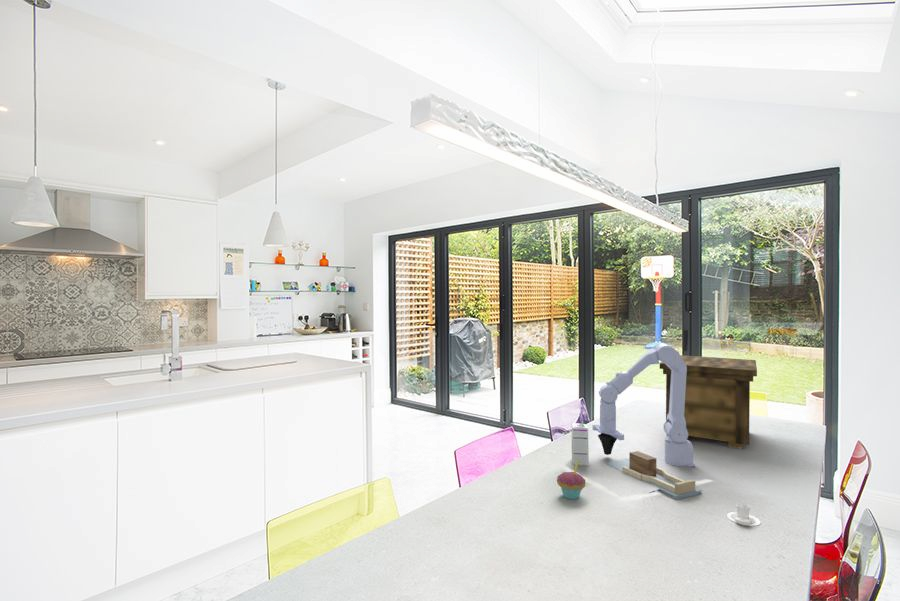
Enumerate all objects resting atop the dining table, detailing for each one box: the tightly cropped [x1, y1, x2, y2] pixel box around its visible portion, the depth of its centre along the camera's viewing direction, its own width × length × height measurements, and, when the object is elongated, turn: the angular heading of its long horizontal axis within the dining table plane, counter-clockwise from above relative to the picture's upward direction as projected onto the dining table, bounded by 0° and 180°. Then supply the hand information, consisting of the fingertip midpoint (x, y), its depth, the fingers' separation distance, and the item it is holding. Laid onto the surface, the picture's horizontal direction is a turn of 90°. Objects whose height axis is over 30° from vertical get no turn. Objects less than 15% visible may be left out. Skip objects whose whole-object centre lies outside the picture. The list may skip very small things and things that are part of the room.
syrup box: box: [571, 422, 590, 467], centre depth 170 cm, size 6×6×14 cm
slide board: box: [604, 458, 702, 501], centre depth 158 cm, size 11×31×4 cm, turn 24°
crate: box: [659, 354, 758, 449], centre depth 206 cm, size 35×35×33 cm
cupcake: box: [556, 459, 586, 500], centre depth 144 cm, size 9×8×12 cm
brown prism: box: [628, 450, 657, 477], centre depth 160 cm, size 4×8×6 cm, turn 24°
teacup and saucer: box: [726, 502, 761, 527], centre depth 129 cm, size 9×8×4 cm
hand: (607, 454), depth 175 cm, fingers closed
